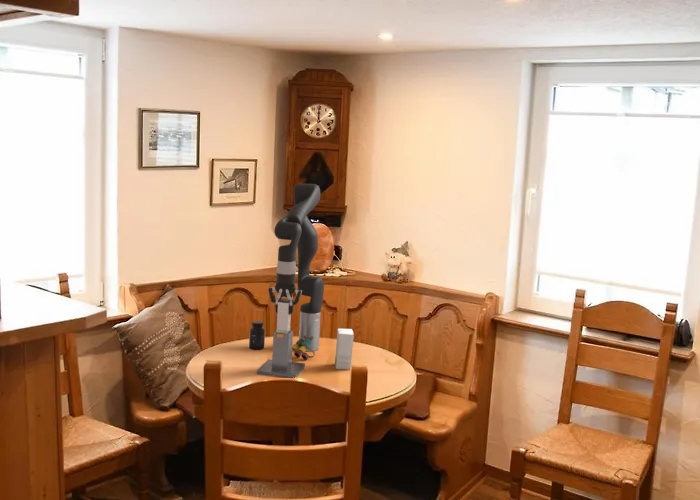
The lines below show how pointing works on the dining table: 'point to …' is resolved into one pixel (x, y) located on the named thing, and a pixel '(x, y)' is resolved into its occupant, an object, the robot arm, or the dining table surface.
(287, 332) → the column
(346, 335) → the skincare box
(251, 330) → the supplement bottle
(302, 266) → the robot arm
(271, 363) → the stand
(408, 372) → the dining table surface
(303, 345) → the binoculars
